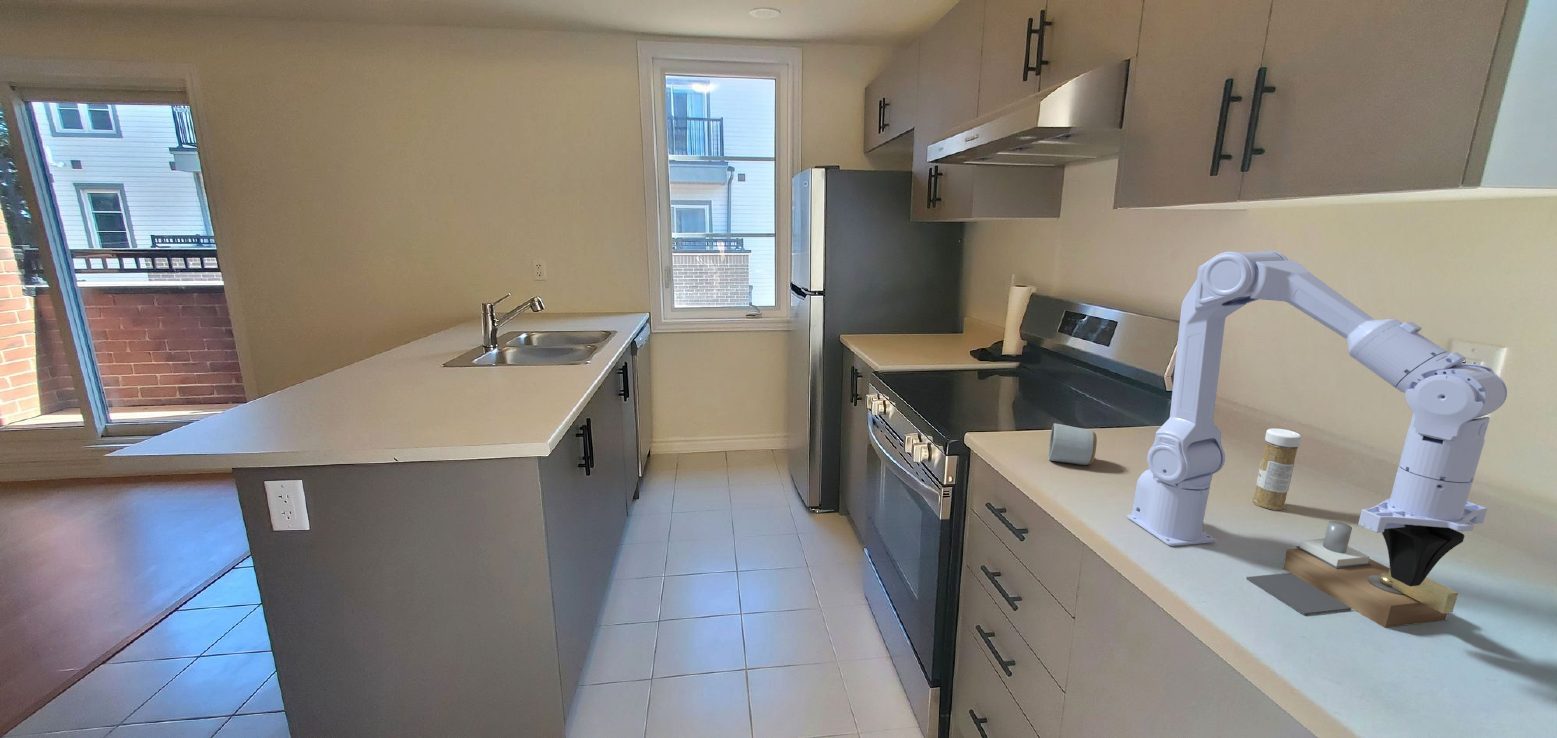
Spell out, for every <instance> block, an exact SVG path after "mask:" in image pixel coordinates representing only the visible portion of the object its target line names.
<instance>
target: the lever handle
mask: <svg viewBox="0 0 1557 738" xmlns="http://www.w3.org/2000/svg"><path fill="white" fill-rule="evenodd" d="M1379 581H1380V582H1381V583H1382V584H1384V585H1386V586H1389V587H1392V588H1394V589H1396V590H1398V591H1400V592H1402V593H1404V594H1406V595H1408V596H1410V597H1412V598H1414V599H1416V600H1417V601H1419V602H1421V603H1423V604H1425V605H1427V606H1429V607H1431V608H1433V609H1435V610H1437V611H1439V612H1441V613H1448V614H1449V613H1454V612H1453V611H1454V609H1455V605H1456V602H1457V599H1458V596H1459V592H1458V591H1456V590H1453V589H1452V588H1449V587H1447V586H1445V585H1443V584H1441V583H1438V582H1436V581H1435V580H1433V579H1431V578H1428V577H1426V578H1425V579H1424V581H1423V582H1422V583H1421V584H1420V585H1419V586H1408V585H1406V584H1404V583H1402V582H1400V581H1398V580H1396V579H1394V578H1392V577H1391V572H1390V569H1389V573H1388V574H1385V573H1383V574H1381V575H1380V579H1379Z"/></svg>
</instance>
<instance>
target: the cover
mask: <svg viewBox="0 0 1557 738" xmlns="http://www.w3.org/2000/svg"><path fill="white" fill-rule="evenodd" d="M1352 529H1353V527H1352V526H1351V525H1349V524H1347V523H1345V522H1341V521H1336V520H1330V521H1328V524H1327V526H1326V530H1325V535H1324V538H1316V539H1305V540H1304V539H1302V540H1300V544H1299V546H1300V548H1302V549H1304V550H1306V551H1308V552H1310V553H1312V554H1314V555H1316V556H1318V557H1319V558H1321V559H1323V560H1325V561H1327V562H1329V563H1331V564H1333V565H1335V566H1346V565H1356V564H1366V563H1368V561H1369V558H1370V556H1369V555H1367V554H1366V553H1363V552H1361V551H1359V550H1357V549H1355V548H1352V547H1351V546H1349V542H1350V539H1351V535H1352V534H1351V533H1352Z"/></svg>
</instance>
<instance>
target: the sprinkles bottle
mask: <svg viewBox="0 0 1557 738" xmlns="http://www.w3.org/2000/svg"><path fill="white" fill-rule="evenodd" d="M1301 439H1302V436H1301V434H1300V433H1298V432H1296V431H1292V430H1291V429H1283V428H1269V429H1267V430H1266V433H1265V438H1264V440H1265V441H1264V442H1265V445H1264V448H1263V453H1262V458H1261V461H1260V463H1259V464H1260V465H1259V469H1258V473H1257V479H1256V483H1255V484H1256V485H1255V491H1254V496H1253V497H1252V502H1253V503H1254V504H1255V505H1256V506H1259V507H1260V508H1261V507H1262V508H1265V509H1269V510H1274V511H1281V510H1285V508H1286V501H1287V495H1288V492H1289V488H1290V484H1291V481H1292V477H1293V472H1294V467H1295V459H1296V455H1297V451H1298V449H1299V446H1301Z"/></svg>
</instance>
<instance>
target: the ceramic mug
mask: <svg viewBox="0 0 1557 738" xmlns="http://www.w3.org/2000/svg"><path fill="white" fill-rule="evenodd" d="M1097 440H1098V437H1097V434H1096V432H1094V431H1093V430H1091V429H1087V428H1082V427H1076V426H1071V425H1066V424H1061V423H1055V422H1054V423H1053V425H1052V427H1051V431H1050V438H1049V444H1048V457H1047V458H1048V461H1051V462H1058V463H1065V464H1074V465H1080V466H1088V465H1091V464H1092V463H1093V462H1094V460H1095V457H1096V450H1097V444H1098V442H1097Z"/></svg>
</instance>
